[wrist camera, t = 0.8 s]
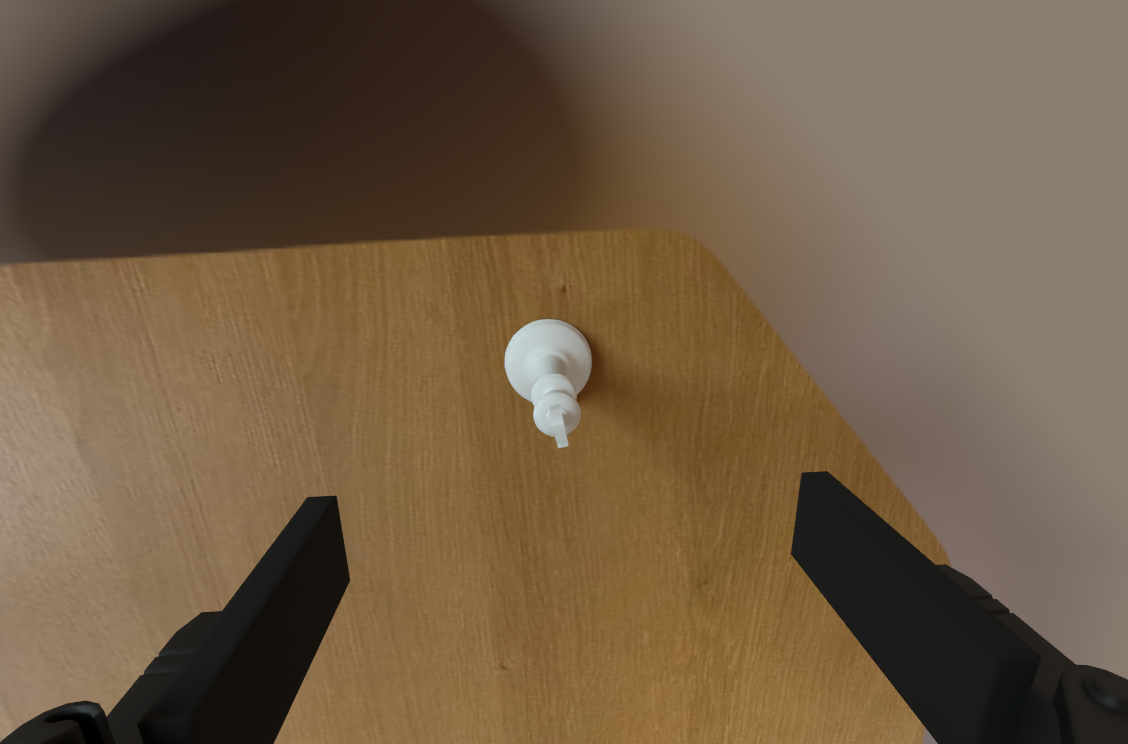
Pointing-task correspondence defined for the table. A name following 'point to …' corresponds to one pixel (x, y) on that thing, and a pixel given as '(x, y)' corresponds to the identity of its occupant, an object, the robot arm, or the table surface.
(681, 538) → the table surface
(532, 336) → the chess piece
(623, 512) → the table surface
